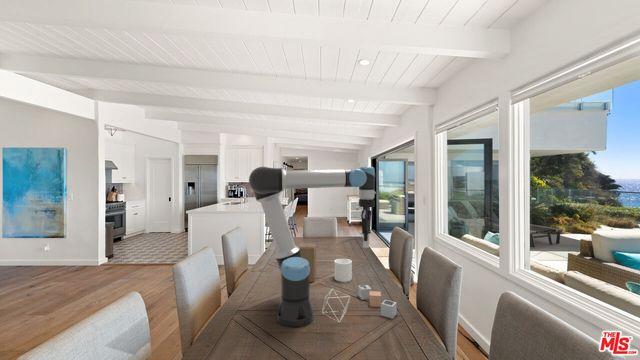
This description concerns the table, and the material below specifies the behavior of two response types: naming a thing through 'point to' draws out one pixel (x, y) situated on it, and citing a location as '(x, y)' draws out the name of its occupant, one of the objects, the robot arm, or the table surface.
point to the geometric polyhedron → (340, 301)
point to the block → (309, 257)
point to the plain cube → (375, 299)
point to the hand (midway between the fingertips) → (366, 247)
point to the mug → (343, 270)
